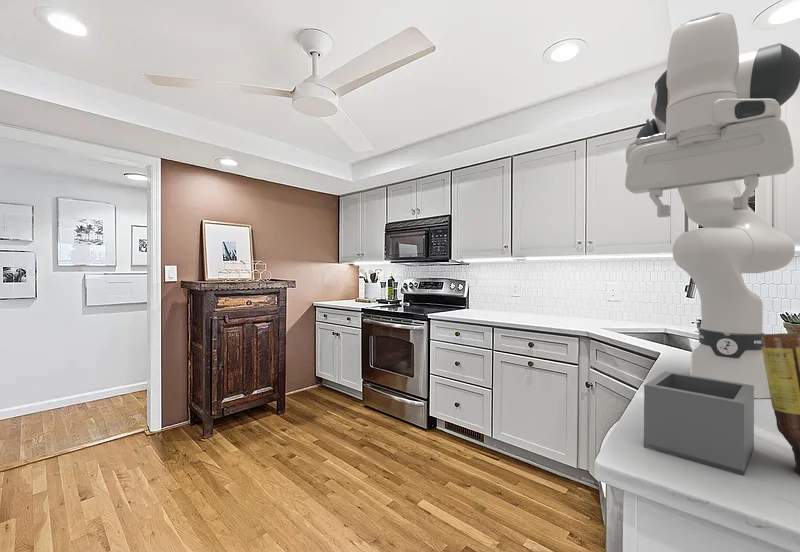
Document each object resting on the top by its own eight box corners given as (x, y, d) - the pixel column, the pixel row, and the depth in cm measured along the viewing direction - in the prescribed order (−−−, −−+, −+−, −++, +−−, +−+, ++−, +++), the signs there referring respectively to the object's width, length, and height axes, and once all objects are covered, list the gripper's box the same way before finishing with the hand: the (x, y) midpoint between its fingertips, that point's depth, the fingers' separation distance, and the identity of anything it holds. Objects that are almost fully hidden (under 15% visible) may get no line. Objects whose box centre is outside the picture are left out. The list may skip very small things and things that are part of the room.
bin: (665, 427, 68) (665, 371, 67) (753, 449, 59) (754, 385, 59) (643, 448, 59) (644, 384, 59) (743, 478, 51) (744, 403, 51)
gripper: (619, 136, 64) (619, 218, 64) (793, 95, 49) (792, 201, 49) (631, 145, 69) (631, 221, 69) (795, 109, 53) (794, 207, 54)
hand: (699, 213), depth 59 cm, fingers open, 8 cm apart
